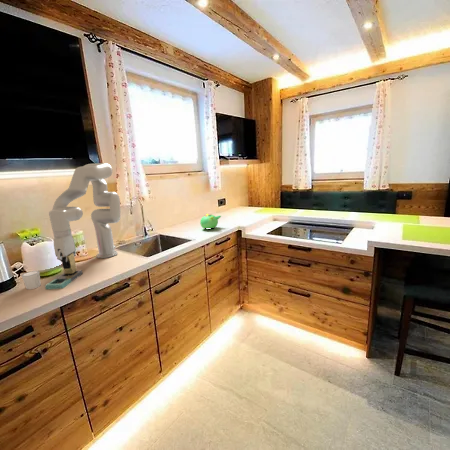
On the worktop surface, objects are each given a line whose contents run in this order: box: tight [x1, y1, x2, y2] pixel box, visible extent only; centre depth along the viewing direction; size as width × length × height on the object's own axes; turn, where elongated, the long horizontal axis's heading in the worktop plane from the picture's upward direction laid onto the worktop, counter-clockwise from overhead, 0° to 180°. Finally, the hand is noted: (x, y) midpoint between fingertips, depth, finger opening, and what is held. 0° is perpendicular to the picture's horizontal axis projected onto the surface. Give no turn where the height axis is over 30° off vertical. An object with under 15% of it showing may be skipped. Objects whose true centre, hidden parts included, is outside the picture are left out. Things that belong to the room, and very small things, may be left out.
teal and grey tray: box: [44, 269, 83, 290], centre depth 120 cm, size 17×8×2 cm, turn 2°
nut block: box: [63, 253, 78, 274], centre depth 123 cm, size 4×4×10 cm
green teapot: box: [199, 213, 222, 229], centre depth 219 cm, size 18×17×15 cm
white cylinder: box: [21, 270, 42, 290], centre depth 114 cm, size 7×7×7 cm
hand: (69, 266), depth 124 cm, fingers closed on nut block, 4 cm apart
